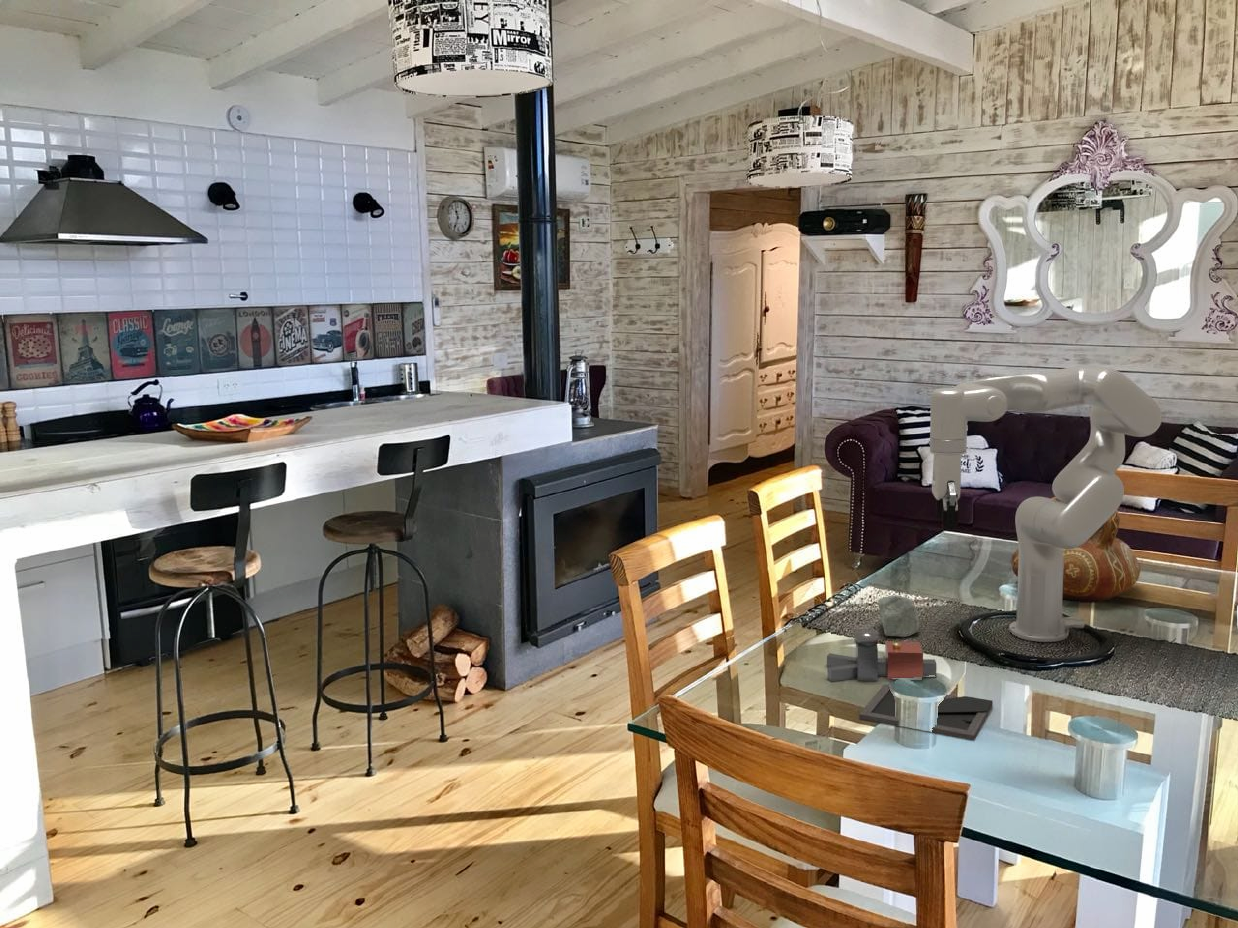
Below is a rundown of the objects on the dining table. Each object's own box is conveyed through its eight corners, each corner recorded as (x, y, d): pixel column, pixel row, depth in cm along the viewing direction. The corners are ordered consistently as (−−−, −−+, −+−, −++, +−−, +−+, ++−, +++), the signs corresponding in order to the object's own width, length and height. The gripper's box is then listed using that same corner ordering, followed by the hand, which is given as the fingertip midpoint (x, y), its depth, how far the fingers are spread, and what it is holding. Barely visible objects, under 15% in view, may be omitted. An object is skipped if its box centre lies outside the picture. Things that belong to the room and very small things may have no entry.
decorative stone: (910, 644, 234) (929, 605, 236) (865, 622, 238) (884, 584, 240) (909, 653, 246) (927, 616, 248) (866, 632, 250) (885, 595, 252)
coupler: (932, 666, 221) (933, 625, 220) (938, 684, 212) (939, 642, 210) (826, 663, 225) (826, 623, 223) (827, 681, 215) (827, 640, 214)
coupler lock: (919, 668, 220) (919, 638, 219) (922, 680, 214) (923, 649, 213) (885, 668, 221) (885, 637, 220) (887, 679, 215) (887, 648, 214)
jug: (989, 592, 269) (992, 497, 264) (1045, 567, 288) (1048, 478, 284) (1106, 617, 247) (1111, 515, 242) (1158, 589, 266) (1164, 493, 261)
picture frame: (992, 710, 200) (884, 691, 211) (992, 700, 200) (884, 682, 211) (973, 743, 187) (859, 721, 197) (973, 733, 186) (859, 711, 197)
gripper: (925, 439, 233) (924, 514, 236) (935, 453, 216) (933, 533, 219) (960, 439, 232) (958, 514, 235) (972, 452, 215) (971, 533, 218)
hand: (946, 523), depth 227 cm, fingers open, 9 cm apart
